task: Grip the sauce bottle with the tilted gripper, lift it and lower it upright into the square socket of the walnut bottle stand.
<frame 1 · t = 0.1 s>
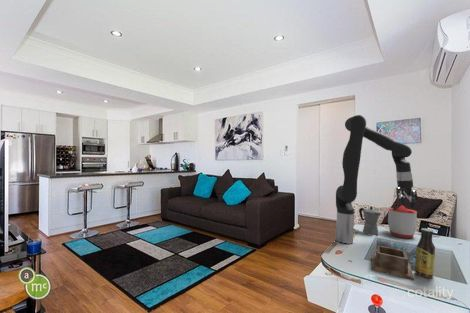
hand: (407, 206, 135), 22 cm above the table, tool pointing down, fingers open, 8 cm apart
sauce bottle: (424, 275, 99), on the table
citrus juicer: (400, 235, 152), on the table
coffeepot: (368, 233, 155), on the table
bottle stand: (390, 267, 105), on the table
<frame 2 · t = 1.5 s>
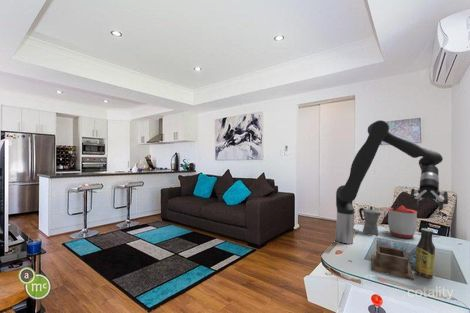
hand: (427, 208, 110), 27 cm above the table, tool tilted 45°, fingers open, 8 cm apart
nothing on the table moved.
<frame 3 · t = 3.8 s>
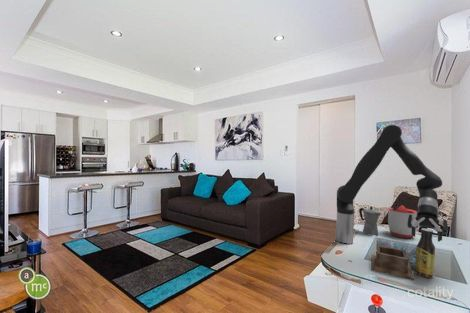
hand: (426, 238, 103), 15 cm above the table, tool tilted 45°, fingers open, 8 cm apart
nothing on the table moved.
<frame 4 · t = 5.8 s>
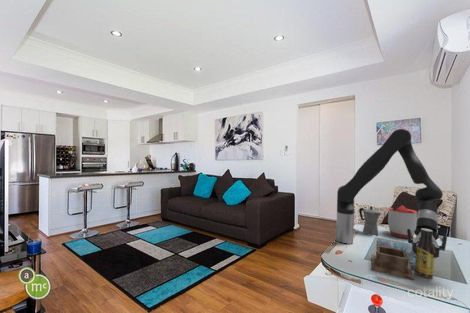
hand: (425, 254, 98), 9 cm above the table, tool tilted 45°, fingers closed on sauce bottle, 6 cm apart
sauce bottle: (424, 275, 99), on the table, touching gripper
everything else where it was.
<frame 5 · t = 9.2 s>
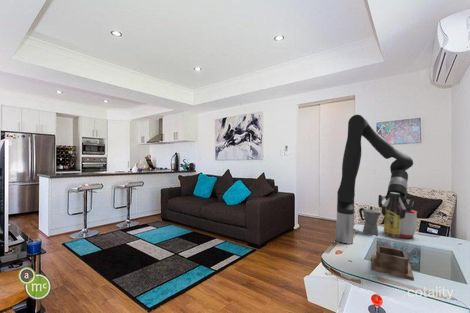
hand: (392, 216, 104), 24 cm above the table, tool tilted 45°, fingers closed on sauce bottle, 6 cm apart
sauce bottle: (391, 236, 105), point 14 cm above the table, touching gripper
everything else where it was.
when the fingers open (12 cm above the table, at t = 12.9 s): sauce bottle drops 1 cm, resting on bottle stand.
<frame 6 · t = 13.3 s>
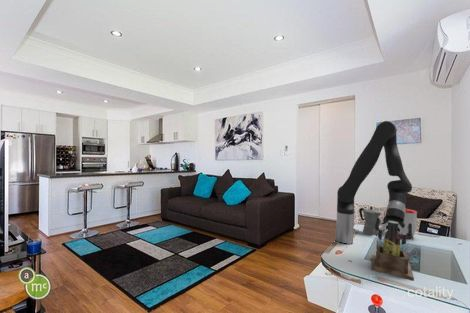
hand: (391, 241, 104), 12 cm above the table, tool tilted 45°, fingers open, 8 cm apart
sauce bottle: (391, 265, 105), point 1 cm above the table, touching bottle stand
everything else where it was.
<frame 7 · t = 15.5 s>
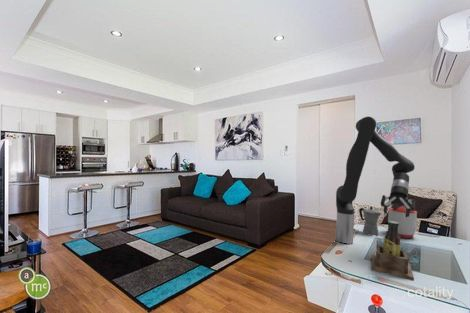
hand: (395, 214, 114), 22 cm above the table, tool tilted 45°, fingers open, 8 cm apart
nothing on the table moved.
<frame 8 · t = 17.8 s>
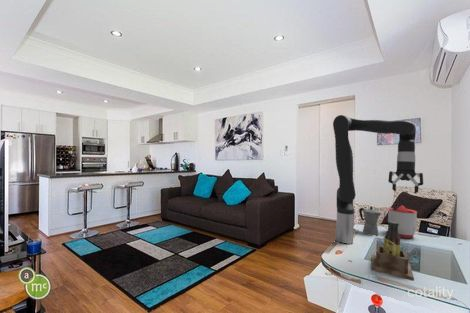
hand: (405, 192, 118), 33 cm above the table, tool pointing down, fingers open, 8 cm apart
nothing on the table moved.
at the end: sauce bottle 0.2 cm off-centre on the bottle stand, point 1.0 cm above the bottle stand's base; sauce bottle tilted 0°; the gripper is holding nothing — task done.
